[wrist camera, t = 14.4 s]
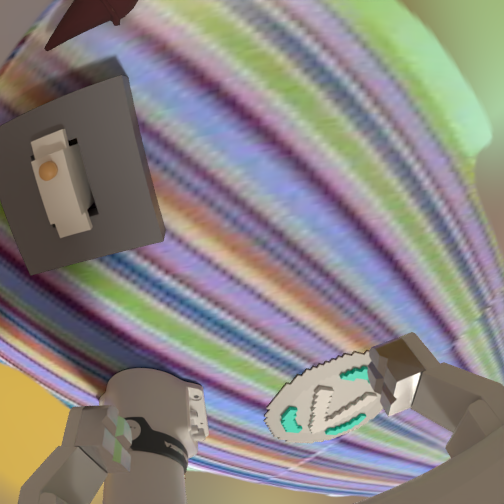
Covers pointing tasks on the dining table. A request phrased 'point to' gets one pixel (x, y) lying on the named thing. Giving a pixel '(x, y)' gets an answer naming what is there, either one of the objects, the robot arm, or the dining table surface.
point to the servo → (62, 183)
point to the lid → (324, 401)
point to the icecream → (88, 18)
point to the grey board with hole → (98, 172)
